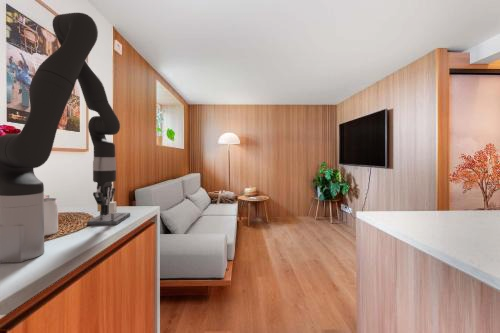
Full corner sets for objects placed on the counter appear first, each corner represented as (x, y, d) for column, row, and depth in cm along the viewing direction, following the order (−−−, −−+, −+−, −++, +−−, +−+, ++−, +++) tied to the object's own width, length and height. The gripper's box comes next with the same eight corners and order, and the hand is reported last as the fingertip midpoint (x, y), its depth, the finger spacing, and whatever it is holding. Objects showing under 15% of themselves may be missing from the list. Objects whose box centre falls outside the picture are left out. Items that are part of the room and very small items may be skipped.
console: (116, 224, 99) (116, 221, 99) (87, 225, 98) (87, 221, 98) (130, 215, 114) (130, 212, 114) (104, 216, 113) (104, 212, 113)
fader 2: (113, 219, 100) (113, 202, 100) (108, 219, 100) (108, 202, 100) (116, 217, 103) (116, 201, 103) (111, 217, 103) (111, 201, 102)
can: (62, 231, 90) (62, 198, 89) (46, 237, 83) (46, 201, 83) (46, 230, 90) (46, 197, 90) (28, 236, 84) (28, 200, 83)
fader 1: (102, 217, 104) (102, 200, 103) (97, 217, 103) (97, 200, 103) (105, 215, 106) (105, 199, 106) (100, 215, 106) (100, 199, 106)
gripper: (107, 170, 88) (107, 218, 88) (122, 168, 101) (122, 210, 102) (84, 170, 87) (84, 219, 88) (102, 168, 100) (102, 210, 101)
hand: (104, 214), depth 95 cm, fingers closed
